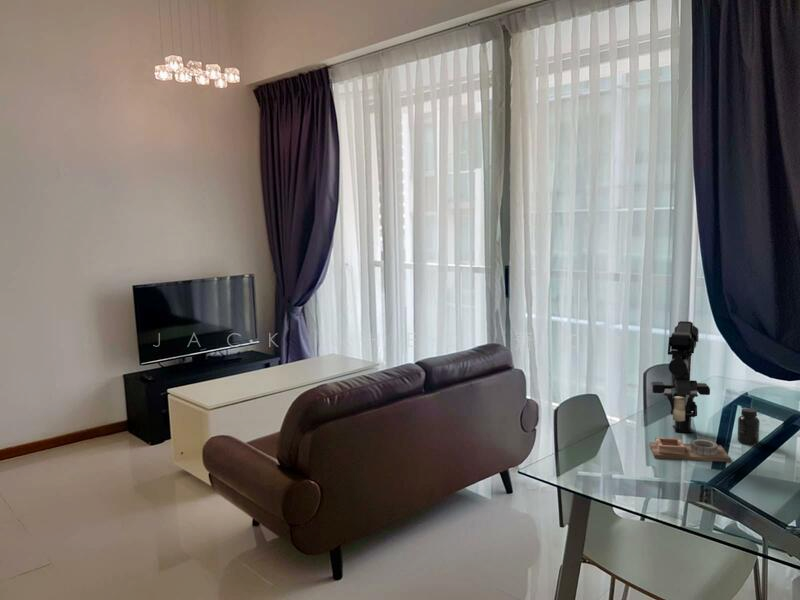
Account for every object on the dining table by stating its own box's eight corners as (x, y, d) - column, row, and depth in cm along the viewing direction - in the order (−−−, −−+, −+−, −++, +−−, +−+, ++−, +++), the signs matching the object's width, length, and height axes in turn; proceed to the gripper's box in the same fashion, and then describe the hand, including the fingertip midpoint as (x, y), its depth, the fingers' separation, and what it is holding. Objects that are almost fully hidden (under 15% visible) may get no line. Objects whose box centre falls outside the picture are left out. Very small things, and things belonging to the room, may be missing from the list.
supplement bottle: (761, 445, 220) (763, 413, 218) (740, 445, 221) (742, 412, 220) (754, 438, 227) (756, 407, 225) (734, 438, 228) (735, 406, 226)
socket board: (648, 445, 225) (649, 435, 224) (720, 448, 219) (721, 438, 218) (654, 458, 213) (654, 447, 212) (730, 461, 207) (730, 451, 207)
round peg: (671, 417, 223) (672, 396, 222) (683, 418, 222) (684, 396, 221) (673, 421, 220) (674, 399, 218) (685, 421, 218) (686, 399, 217)
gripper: (655, 373, 213) (654, 417, 215) (714, 375, 208) (712, 420, 210) (650, 366, 224) (650, 407, 226) (707, 367, 219) (705, 410, 221)
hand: (679, 411), depth 221 cm, fingers closed on round peg, 4 cm apart
